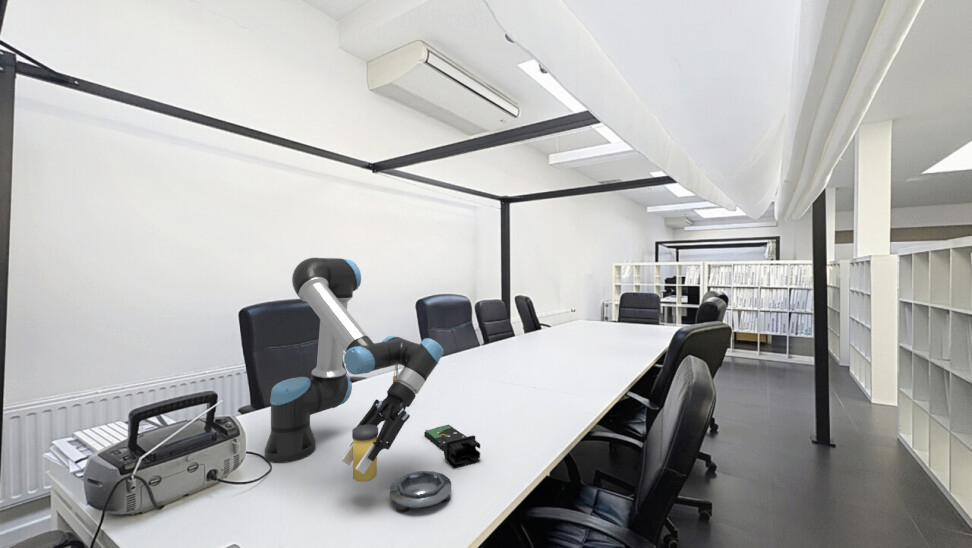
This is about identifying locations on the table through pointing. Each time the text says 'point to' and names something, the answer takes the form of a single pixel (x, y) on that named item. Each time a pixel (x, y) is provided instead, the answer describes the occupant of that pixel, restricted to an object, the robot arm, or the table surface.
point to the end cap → (461, 452)
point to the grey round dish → (420, 490)
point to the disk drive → (442, 435)
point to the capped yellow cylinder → (364, 450)
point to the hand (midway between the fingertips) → (352, 466)
